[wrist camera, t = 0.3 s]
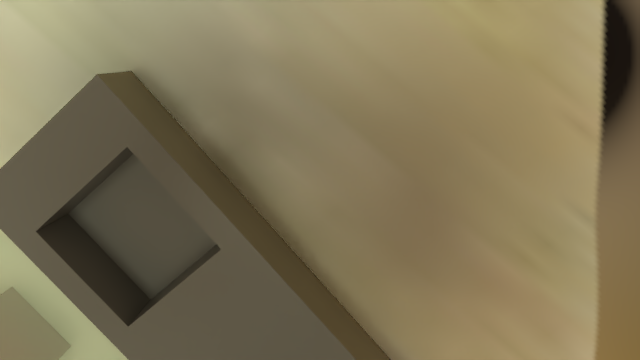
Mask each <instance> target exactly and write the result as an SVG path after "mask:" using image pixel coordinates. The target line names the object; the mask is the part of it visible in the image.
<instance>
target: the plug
mask: <svg viewBox="0 0 640 360" xmlns="http://www.w3.org/2000/svg"><path fill="white" fill-rule="evenodd" d="M70 347H71V345H70V344H69V343H68V342H67V341H66V340H65V339H64V338H63V337H62V336H61V335H60V334H59V333H58V332H57V331H56V330H55V329H54V328H53V327H52V326H51V325H50V324H49V323H48V322H47V321H46V320H45V319H44V318H43V317H42V316H41V315H40V314H39V313H38V312H37V311H36V310H35V309H34V308H33V307H32V306H31V305H30V304H29V303H28V302H27V301H26V300H25V299H24V298H23V297H22V296H21V295H20V294H19V293H18V292H17V291H16V290H15V289H14V288H13V287H11V288H9V289H8V290H6V291H5V292H3V293H2V294H0V360H58V359H59V358H60V357H61V356H62V355H63V354H64V353H65V352H66V351H67V350H68V349H69V348H70Z"/></svg>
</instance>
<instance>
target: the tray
mask: <svg viewBox="0 0 640 360" xmlns="http://www.w3.org/2000/svg"><path fill="white" fill-rule="evenodd" d="M11 287H13V288H14V289H15V290H16V291H17V292H18V293H19V294H20V295H21V296H22V297H23V298H24V299H25V300H26V301H27V302H28V303H29V304H30V305H31V306H32V307H33V308H34V309H35V310H36V311H37V312H38V313H39V314H40V315H41V316H42V317H43V318H44V319H45V320H46V321H47V322H48V323H49V324H50V325H51V326H52V327H53V328H54V329H55V330H56V331H57V332H58V333H59V334H60V335H61V336H62V337H63V338H64V339H65V340H66V341H67V342H68V343H69V344H70V345H71V347H70V348H69V349H68V350H67V351H66V352H65V353H64V354H63V355H62V356H61V357H60V358H59V359H58V360H128V359H127V358H126V357H125V356H124V355H123V354H122V353H121V352H120V351H119V350H118V349H117V348H116V347H115V345H114V344H113V343H112V342H111V341H110V340H109V339H108V338H107V337H106V336H105V335H104V334H103V333H102V332H101V331H100V330H99V329H98V328H97V327H96V326H95V325H94V324H93V323H92V322H91V321H90V320H89V319H88V318H87V317H86V316H85V315H84V314H83V313H82V312H81V311H80V310H79V309H78V308H77V307H76V306H75V305H74V304H73V303H72V302H71V301H70V300H69V299H68V298H67V297H66V296H65V295H64V293H63V292H62V291H61V290H60V289H59V288H58V287H57V286H56V285H55V284H54V283H53V282H52V281H51V280H50V279H49V278H48V277H47V276H46V275H45V274H44V273H43V272H42V271H41V270H40V269H39V268H38V267H37V266H36V265H35V264H34V263H33V262H32V261H31V260H30V259H29V258H28V257H27V256H26V255H25V254H24V253H23V252H22V251H21V250H20V249H19V248H18V247H17V246H16V245H15V244H14V243H13V241H12V240H11V239H10V238H9V237H8V236H7V235H6V234H5V233H4V232H3V231H2V230H1V229H0V294H2V293H3V292H5V291H6V290H8V289H9V288H11Z"/></svg>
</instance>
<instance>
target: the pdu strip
mask: <svg viewBox="0 0 640 360" xmlns="http://www.w3.org/2000/svg"><path fill="white" fill-rule="evenodd" d="M0 229H1V230H2V231H3V232H4V233H5V234H6V235H7V236H8V237H9V238H10V239H11V240H12V241H13V243H14V244H15V245H16V246H17V247H18V248H19V249H20V250H21V251H22V252H23V253H24V254H25V255H26V256H27V257H28V258H29V259H30V260H31V261H32V262H33V263H34V264H35V265H36V266H37V267H38V268H39V269H40V270H41V271H42V272H43V273H44V274H45V275H46V276H47V277H48V278H49V279H50V280H51V281H52V282H53V283H54V284H55V285H56V286H57V287H58V288H59V289H60V290H61V291H62V292H63V293H64V295H65V296H66V297H67V298H68V299H69V300H70V301H71V302H72V303H73V304H74V305H75V306H76V307H77V308H78V309H79V310H80V311H81V312H82V313H83V314H84V315H85V316H86V317H87V318H88V319H89V320H90V321H91V322H92V323H93V324H94V325H95V326H96V327H97V328H98V329H99V330H100V331H101V332H102V333H103V334H104V335H105V336H106V337H107V338H108V339H109V340H110V341H111V342H112V343H113V344H114V345H115V347H116V348H117V349H118V350H119V351H120V352H121V353H122V354H123V355H124V356H125V357H126V358H127V359H128V360H390V359H389V358H388V357H387V356H386V355H385V353H384V352H383V351H382V350H381V349H380V348H379V347H378V346H377V344H376V343H375V342H374V341H373V340H372V339H371V338H370V337H369V336H368V334H367V333H366V332H365V331H364V330H363V329H362V328H361V327H360V326H359V324H358V323H357V322H356V321H355V320H354V319H353V318H352V317H351V316H350V314H349V313H348V312H347V311H346V310H345V309H344V308H343V307H342V305H341V304H340V303H339V302H338V301H337V300H336V299H335V298H334V297H333V295H332V294H331V293H330V292H329V291H328V290H327V289H326V288H325V287H324V285H323V284H322V283H321V282H320V281H319V280H318V279H317V278H316V277H315V275H314V274H313V273H312V272H311V271H310V270H309V269H308V268H307V267H306V265H305V264H304V263H303V262H302V261H301V260H300V259H299V258H298V256H297V255H296V254H295V253H294V252H293V251H292V250H291V249H290V248H289V246H288V245H287V244H286V243H285V242H284V241H283V240H282V239H281V238H280V236H279V235H278V234H277V233H276V232H275V231H274V230H273V229H272V228H271V226H270V225H269V224H268V223H267V222H266V221H265V220H264V219H263V218H262V216H261V215H260V214H259V213H258V212H257V211H256V210H255V209H254V207H253V206H252V205H251V204H250V203H249V202H248V201H247V200H246V199H245V197H244V196H243V195H242V194H241V193H240V192H239V191H238V190H237V189H236V187H235V186H234V185H233V184H232V183H231V182H230V181H229V180H228V179H227V177H226V176H225V175H224V174H223V173H222V172H221V171H220V170H219V168H218V167H217V166H216V165H215V164H214V163H213V162H212V161H211V160H210V158H209V157H208V156H207V155H206V154H205V153H204V152H203V151H202V150H201V148H200V147H199V146H198V145H197V144H196V143H195V142H194V141H193V140H192V138H191V137H190V136H189V135H188V134H187V133H186V132H185V131H184V130H183V128H182V127H181V126H180V125H179V124H178V123H177V122H176V121H175V119H174V118H173V117H172V116H171V115H170V114H169V113H168V112H167V111H166V109H165V108H164V107H163V106H162V105H161V104H160V103H159V102H158V101H157V99H156V98H155V97H154V96H153V95H152V94H151V93H150V92H149V91H148V89H147V88H146V87H145V86H144V85H143V84H142V83H141V82H140V80H139V79H138V78H137V77H136V76H135V75H134V74H133V73H132V72H131V71H128V72H118V73H107V74H97V75H96V76H95V77H94V78H93V79H92V80H91V81H90V82H89V83H88V84H87V85H86V86H85V87H84V88H83V89H82V90H81V91H80V92H78V93H77V94H76V95H75V96H74V97H73V98H72V99H71V100H70V101H69V102H68V103H67V104H66V105H65V106H64V107H63V108H62V109H61V110H60V111H59V112H58V113H57V114H56V115H55V116H54V117H53V118H52V119H51V120H50V121H49V122H48V123H47V124H46V125H45V126H44V127H43V128H42V129H41V130H40V131H39V132H38V133H37V134H36V135H35V136H34V137H33V138H31V139H30V140H29V141H28V142H27V143H26V144H25V145H24V146H23V147H22V148H21V149H20V150H19V151H18V152H17V153H16V154H15V155H14V156H13V157H12V158H11V159H10V160H9V161H8V162H7V163H6V164H5V165H4V166H3V167H2V168H1V169H0Z"/></svg>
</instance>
